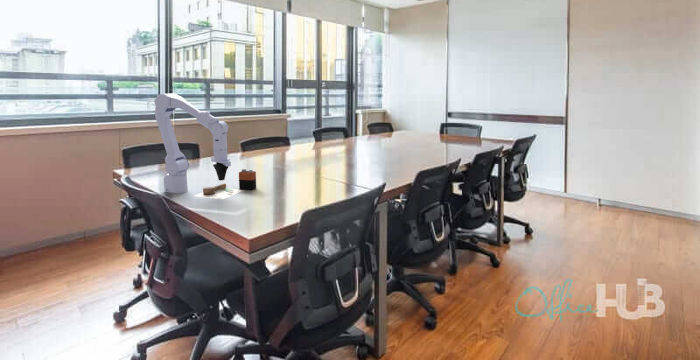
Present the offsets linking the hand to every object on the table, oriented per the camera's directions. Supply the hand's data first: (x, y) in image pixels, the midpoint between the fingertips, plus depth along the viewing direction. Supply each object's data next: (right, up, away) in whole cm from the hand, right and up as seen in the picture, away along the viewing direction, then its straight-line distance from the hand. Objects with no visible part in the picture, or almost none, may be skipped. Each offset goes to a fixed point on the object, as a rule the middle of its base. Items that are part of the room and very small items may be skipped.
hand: (221, 180), depth 187 cm
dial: (-4, -5, +5) cm, 8 cm away
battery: (+9, -5, +11) cm, 15 cm away
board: (-2, -7, +3) cm, 7 cm away
